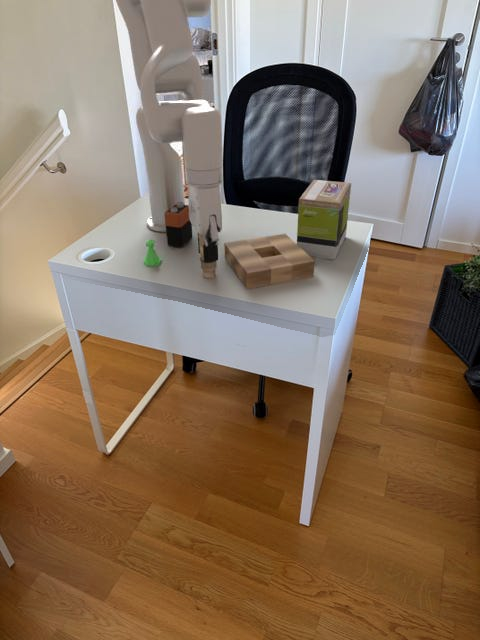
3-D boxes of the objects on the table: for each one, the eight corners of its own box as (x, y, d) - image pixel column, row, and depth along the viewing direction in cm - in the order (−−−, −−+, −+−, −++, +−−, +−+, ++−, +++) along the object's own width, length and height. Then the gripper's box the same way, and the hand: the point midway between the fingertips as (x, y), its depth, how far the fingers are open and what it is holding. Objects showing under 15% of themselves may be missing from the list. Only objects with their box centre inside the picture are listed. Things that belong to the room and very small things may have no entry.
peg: (198, 272, 107) (195, 219, 100) (214, 269, 108) (212, 217, 101) (203, 280, 104) (200, 226, 97) (219, 277, 105) (217, 223, 98)
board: (224, 258, 113) (224, 243, 111) (284, 248, 118) (285, 233, 115) (247, 289, 101) (247, 273, 99) (313, 276, 105) (314, 261, 103)
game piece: (165, 260, 113) (162, 237, 109) (154, 268, 109) (151, 244, 106) (150, 257, 114) (147, 234, 111) (140, 264, 111) (136, 241, 108)
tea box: (309, 232, 126) (313, 177, 118) (346, 237, 123) (353, 181, 115) (294, 255, 115) (298, 196, 106) (335, 261, 112) (342, 202, 103)
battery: (193, 238, 123) (190, 201, 118) (182, 248, 118) (178, 211, 112) (178, 236, 125) (175, 199, 119) (166, 246, 119) (162, 208, 114)
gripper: (176, 165, 99) (183, 244, 109) (196, 189, 86) (202, 276, 96) (210, 162, 101) (213, 239, 111) (235, 185, 88) (236, 270, 98)
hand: (208, 256), depth 103 cm, fingers closed on peg, 3 cm apart
